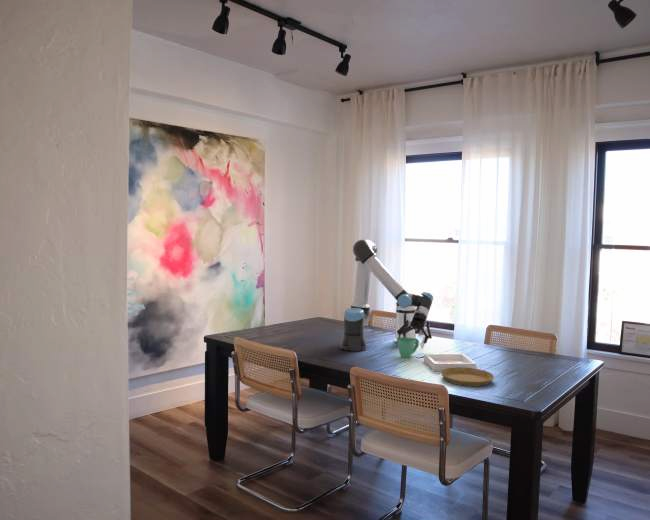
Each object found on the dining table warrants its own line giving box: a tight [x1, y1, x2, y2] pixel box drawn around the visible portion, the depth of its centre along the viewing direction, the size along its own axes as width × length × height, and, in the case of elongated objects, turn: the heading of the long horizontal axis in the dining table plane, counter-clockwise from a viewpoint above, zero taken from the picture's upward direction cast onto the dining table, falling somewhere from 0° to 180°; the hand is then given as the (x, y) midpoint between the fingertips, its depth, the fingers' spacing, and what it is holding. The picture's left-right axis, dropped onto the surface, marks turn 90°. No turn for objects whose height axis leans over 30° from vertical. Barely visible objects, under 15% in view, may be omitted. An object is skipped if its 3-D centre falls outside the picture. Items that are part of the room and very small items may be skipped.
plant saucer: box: [440, 367, 495, 387], centre depth 249 cm, size 24×24×3 cm
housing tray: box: [423, 353, 477, 372], centre depth 275 cm, size 21×21×4 cm
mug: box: [396, 338, 419, 359], centre depth 295 cm, size 15×10×10 cm
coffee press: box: [393, 300, 421, 342], centre depth 333 cm, size 17×16×30 cm
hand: (410, 346), depth 294 cm, fingers open, 13 cm apart
